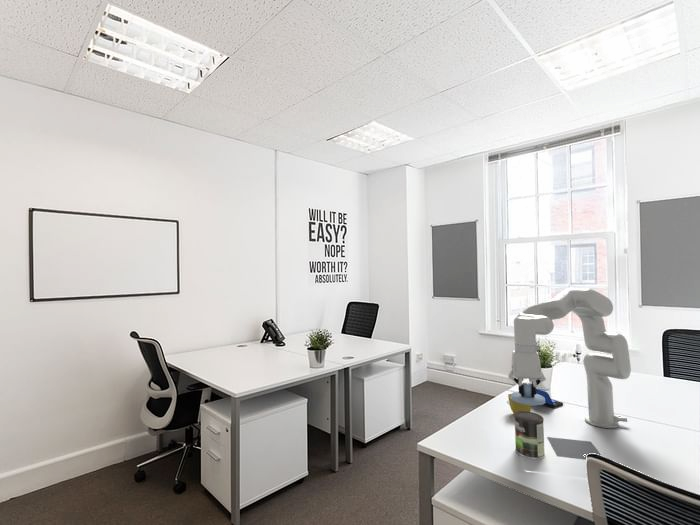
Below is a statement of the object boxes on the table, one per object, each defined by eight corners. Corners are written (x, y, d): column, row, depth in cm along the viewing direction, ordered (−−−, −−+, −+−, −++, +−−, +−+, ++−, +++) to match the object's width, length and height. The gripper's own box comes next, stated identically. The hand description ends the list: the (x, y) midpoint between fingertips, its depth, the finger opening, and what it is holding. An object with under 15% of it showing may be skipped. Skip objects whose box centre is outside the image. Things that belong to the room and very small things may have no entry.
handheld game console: (564, 405, 182) (563, 387, 182) (548, 411, 176) (547, 392, 176) (536, 396, 196) (535, 380, 196) (520, 401, 190) (520, 384, 190)
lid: (541, 395, 140) (540, 380, 140) (548, 406, 128) (548, 389, 129) (508, 393, 143) (508, 378, 144) (513, 404, 132) (512, 387, 132)
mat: (590, 442, 142) (590, 441, 142) (606, 462, 127) (606, 461, 127) (546, 437, 147) (546, 436, 147) (557, 457, 132) (556, 456, 132)
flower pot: (532, 420, 165) (531, 400, 165) (513, 419, 167) (512, 400, 167) (527, 412, 173) (526, 394, 174) (508, 411, 175) (507, 393, 175)
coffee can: (525, 460, 130) (523, 422, 130) (510, 447, 140) (508, 411, 141) (551, 458, 131) (549, 420, 131) (534, 445, 141) (533, 410, 141)
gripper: (546, 347, 138) (548, 394, 137) (501, 345, 143) (503, 391, 142) (551, 351, 131) (553, 401, 130) (503, 349, 136) (505, 397, 135)
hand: (527, 395), depth 136 cm, fingers closed on lid, 3 cm apart
